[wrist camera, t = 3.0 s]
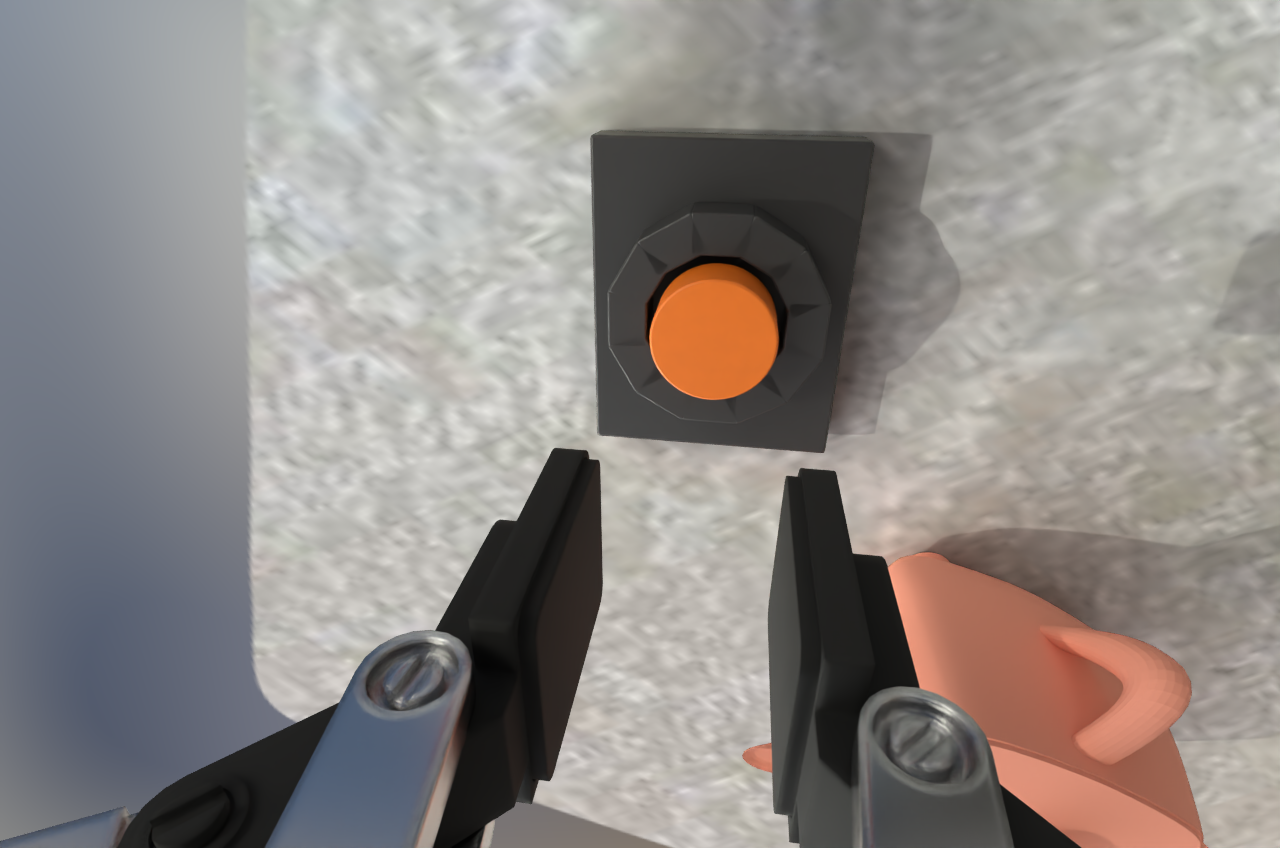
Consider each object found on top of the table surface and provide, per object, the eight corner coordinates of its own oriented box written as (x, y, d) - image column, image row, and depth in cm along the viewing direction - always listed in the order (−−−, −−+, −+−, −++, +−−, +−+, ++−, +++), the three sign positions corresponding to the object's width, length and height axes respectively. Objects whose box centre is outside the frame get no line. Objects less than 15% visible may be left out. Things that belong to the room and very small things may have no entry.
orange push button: (657, 259, 20) (650, 276, 18) (783, 265, 19) (785, 282, 18) (655, 372, 22) (648, 396, 20) (770, 380, 21) (771, 405, 20)
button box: (598, 130, 21) (577, 140, 18) (867, 136, 20) (885, 148, 17) (604, 418, 26) (587, 459, 23) (821, 434, 25) (829, 479, 22)
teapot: (1147, 493, 24) (1376, 748, 15) (1133, 723, 29) (1299, 1015, 20) (744, 544, 28) (739, 774, 19) (794, 741, 33) (809, 995, 24)
